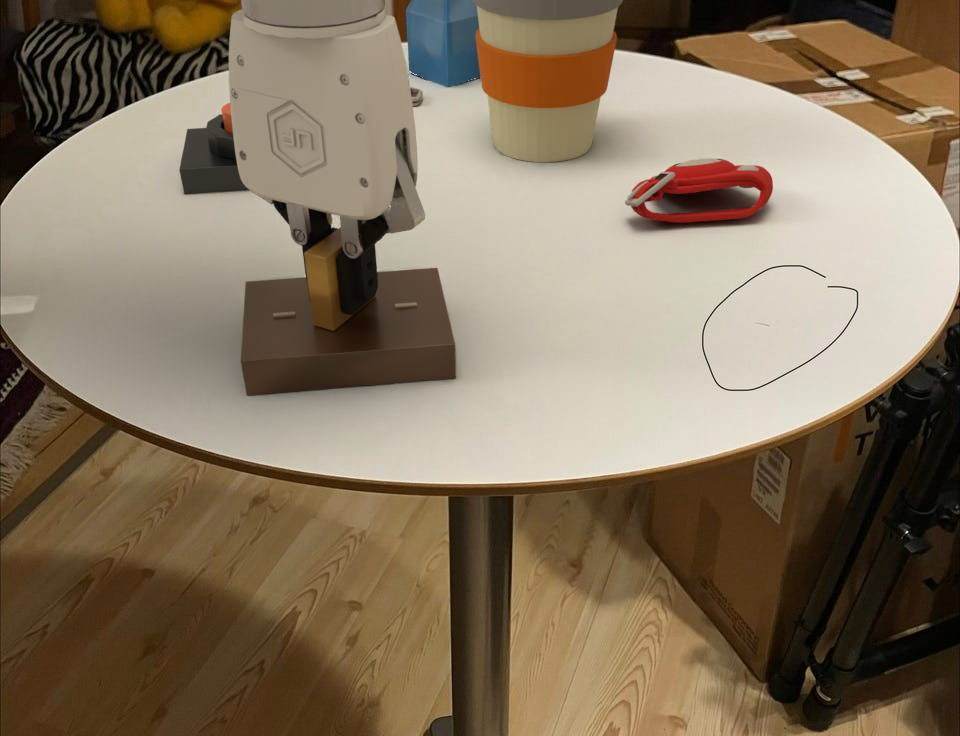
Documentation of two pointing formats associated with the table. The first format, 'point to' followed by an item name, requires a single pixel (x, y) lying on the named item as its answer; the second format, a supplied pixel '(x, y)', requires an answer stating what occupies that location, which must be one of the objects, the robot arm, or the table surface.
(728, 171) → the tracker holder
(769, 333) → the table surface
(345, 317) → the thumb turn
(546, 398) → the table surface
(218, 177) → the dark grey button base
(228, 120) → the bell button
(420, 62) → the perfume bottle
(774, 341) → the table surface
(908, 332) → the table surface
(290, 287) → the plate
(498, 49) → the reusable coffee cup
